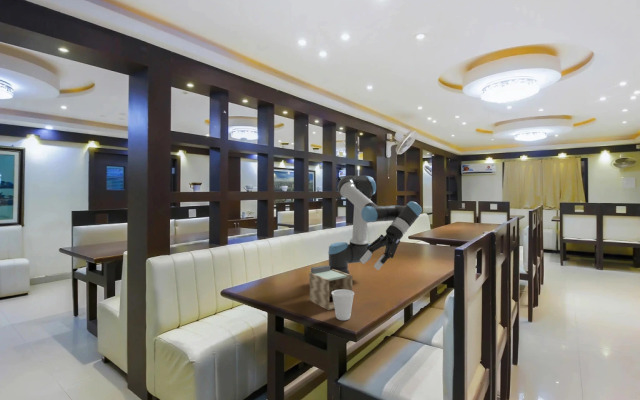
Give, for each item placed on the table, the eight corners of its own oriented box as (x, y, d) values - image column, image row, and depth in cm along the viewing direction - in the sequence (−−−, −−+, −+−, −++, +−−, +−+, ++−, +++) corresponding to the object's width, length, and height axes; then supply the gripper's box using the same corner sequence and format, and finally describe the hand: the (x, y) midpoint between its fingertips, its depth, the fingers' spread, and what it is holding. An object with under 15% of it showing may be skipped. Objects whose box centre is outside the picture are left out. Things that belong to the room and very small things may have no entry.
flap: (309, 274, 161) (308, 268, 161) (328, 271, 168) (328, 264, 168) (325, 281, 149) (325, 274, 149) (346, 277, 155) (346, 270, 155)
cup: (352, 313, 142) (352, 289, 142) (356, 322, 132) (356, 296, 132) (330, 313, 142) (330, 289, 141) (332, 323, 132) (332, 296, 131)
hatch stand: (309, 300, 159) (309, 273, 159) (333, 295, 167) (333, 268, 167) (328, 310, 146) (327, 280, 145) (352, 303, 154) (352, 275, 153)
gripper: (418, 238, 134) (388, 276, 129) (387, 232, 158) (361, 265, 153) (407, 226, 132) (376, 265, 128) (378, 222, 156) (351, 255, 151)
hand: (368, 265), depth 140 cm, fingers open, 13 cm apart
